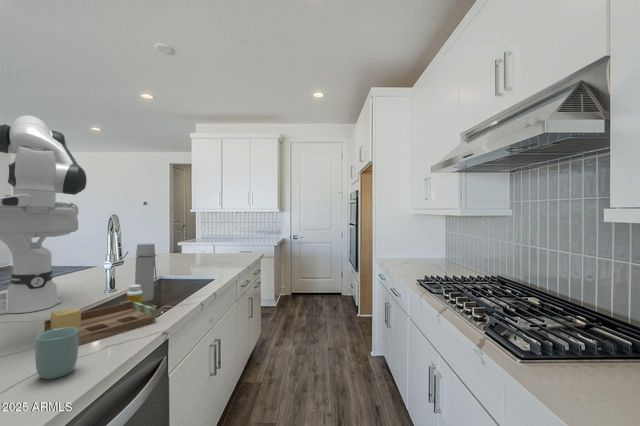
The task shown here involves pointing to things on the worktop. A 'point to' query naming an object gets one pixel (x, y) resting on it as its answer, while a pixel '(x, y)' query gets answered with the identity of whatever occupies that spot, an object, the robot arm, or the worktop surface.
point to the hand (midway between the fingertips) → (34, 248)
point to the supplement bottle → (135, 294)
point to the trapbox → (112, 320)
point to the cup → (56, 352)
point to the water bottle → (145, 270)
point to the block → (66, 318)
